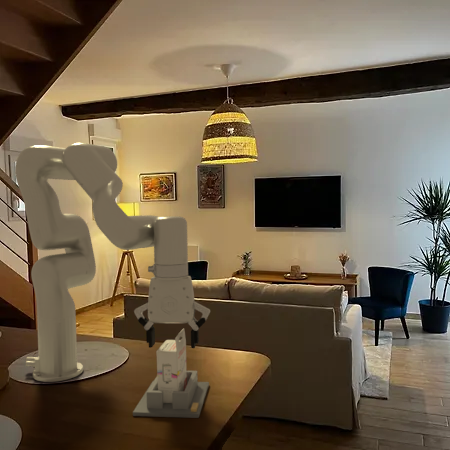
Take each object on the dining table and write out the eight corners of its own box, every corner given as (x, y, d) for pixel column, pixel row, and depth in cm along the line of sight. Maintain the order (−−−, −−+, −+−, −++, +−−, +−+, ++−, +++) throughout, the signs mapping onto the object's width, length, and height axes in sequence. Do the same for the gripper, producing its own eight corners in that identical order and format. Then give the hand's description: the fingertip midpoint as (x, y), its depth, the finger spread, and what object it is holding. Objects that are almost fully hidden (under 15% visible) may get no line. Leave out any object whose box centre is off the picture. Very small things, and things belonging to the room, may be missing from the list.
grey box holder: (132, 415, 95) (132, 395, 95) (153, 383, 112) (152, 366, 112) (198, 417, 94) (198, 397, 94) (208, 385, 111) (208, 368, 111)
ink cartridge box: (167, 387, 108) (165, 326, 107) (187, 388, 107) (186, 327, 107) (156, 403, 99) (155, 337, 99) (178, 404, 99) (177, 337, 98)
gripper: (128, 273, 99) (130, 351, 100) (207, 273, 97) (208, 352, 98) (138, 268, 106) (140, 340, 107) (211, 268, 105) (212, 341, 106)
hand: (172, 346), depth 103 cm, fingers open, 9 cm apart
